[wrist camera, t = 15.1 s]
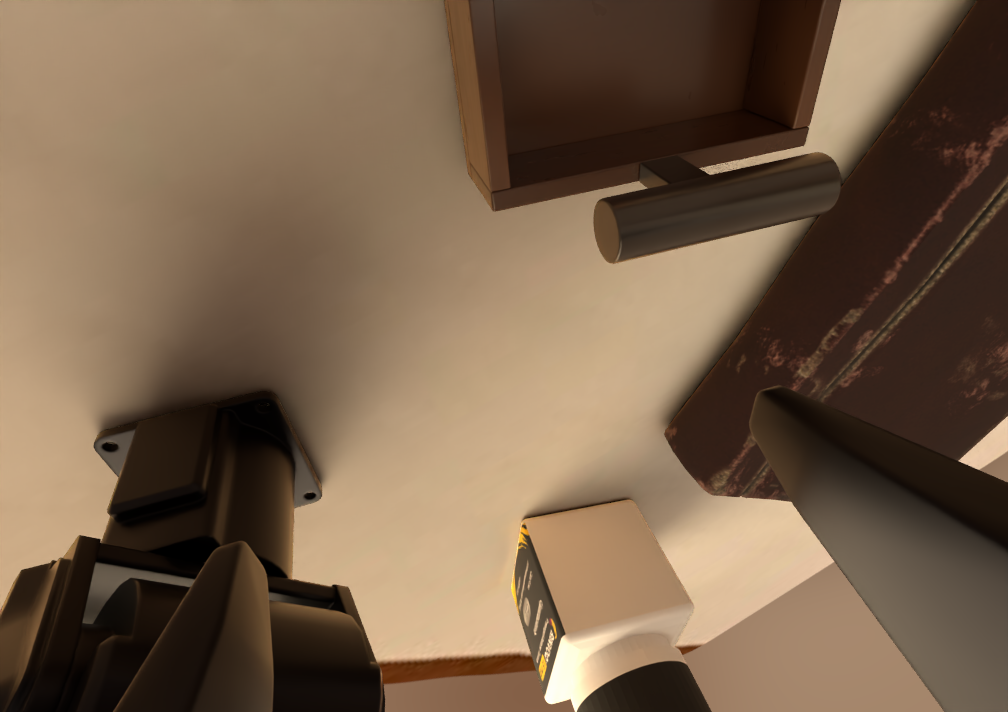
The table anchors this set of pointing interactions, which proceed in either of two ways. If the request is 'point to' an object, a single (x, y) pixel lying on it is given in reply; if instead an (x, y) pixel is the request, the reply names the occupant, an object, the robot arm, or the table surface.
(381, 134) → the table surface
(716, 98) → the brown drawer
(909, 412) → the diary
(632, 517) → the medicine bottle
